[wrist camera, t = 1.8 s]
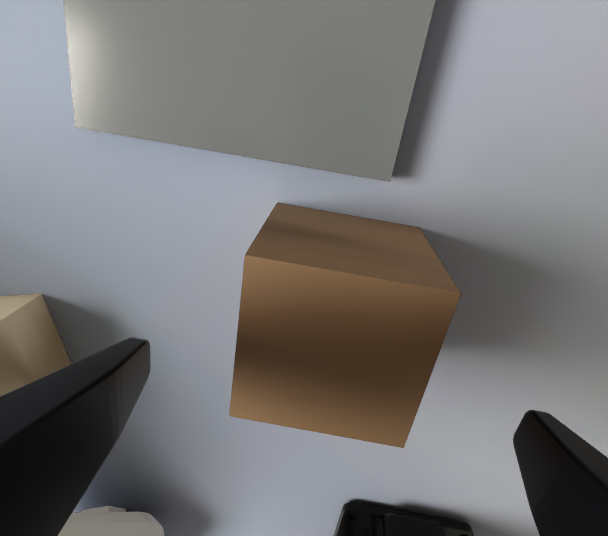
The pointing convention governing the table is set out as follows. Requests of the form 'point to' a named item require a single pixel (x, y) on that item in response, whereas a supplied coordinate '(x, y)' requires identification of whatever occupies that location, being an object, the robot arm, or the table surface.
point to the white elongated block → (111, 523)
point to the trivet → (252, 76)
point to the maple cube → (27, 342)
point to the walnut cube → (339, 324)
